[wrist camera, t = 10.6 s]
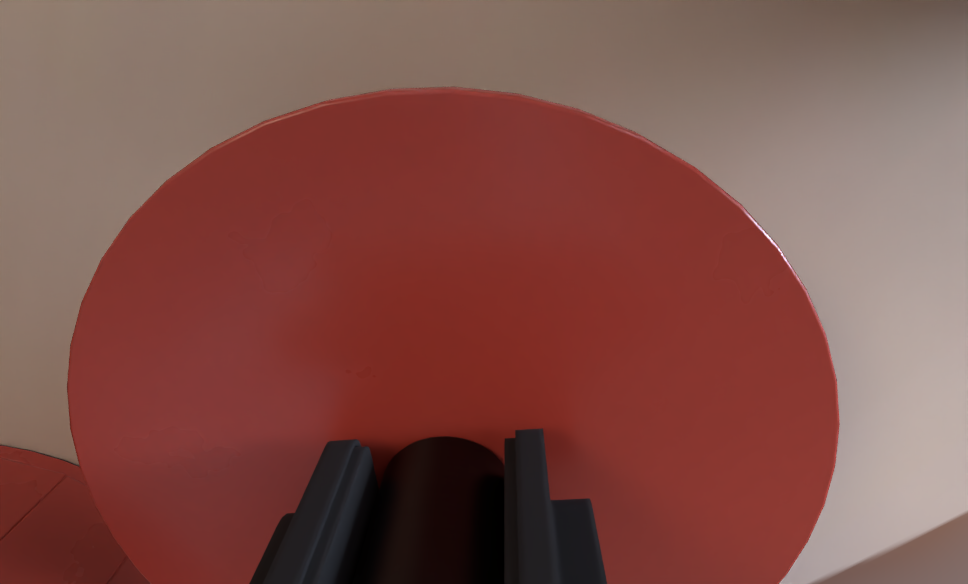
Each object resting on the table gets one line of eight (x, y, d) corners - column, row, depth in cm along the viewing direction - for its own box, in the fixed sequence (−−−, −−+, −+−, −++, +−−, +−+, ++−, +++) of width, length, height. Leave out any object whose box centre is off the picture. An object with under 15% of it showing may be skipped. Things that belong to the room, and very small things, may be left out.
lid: (-20, 129, 10) (-630, 218, 4) (867, 38, 9) (1416, 15, 3) (221, 676, 16) (78, 990, 10) (768, 660, 15) (915, 999, 9)
